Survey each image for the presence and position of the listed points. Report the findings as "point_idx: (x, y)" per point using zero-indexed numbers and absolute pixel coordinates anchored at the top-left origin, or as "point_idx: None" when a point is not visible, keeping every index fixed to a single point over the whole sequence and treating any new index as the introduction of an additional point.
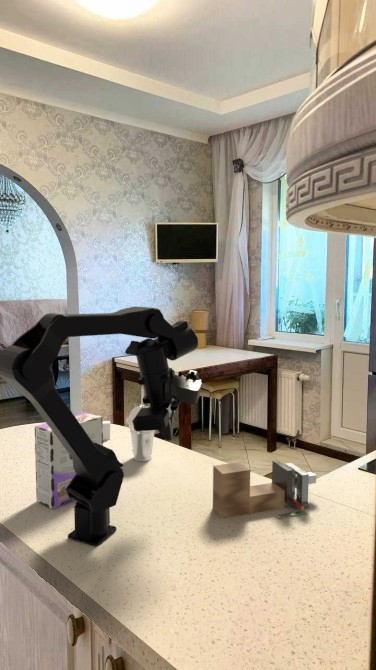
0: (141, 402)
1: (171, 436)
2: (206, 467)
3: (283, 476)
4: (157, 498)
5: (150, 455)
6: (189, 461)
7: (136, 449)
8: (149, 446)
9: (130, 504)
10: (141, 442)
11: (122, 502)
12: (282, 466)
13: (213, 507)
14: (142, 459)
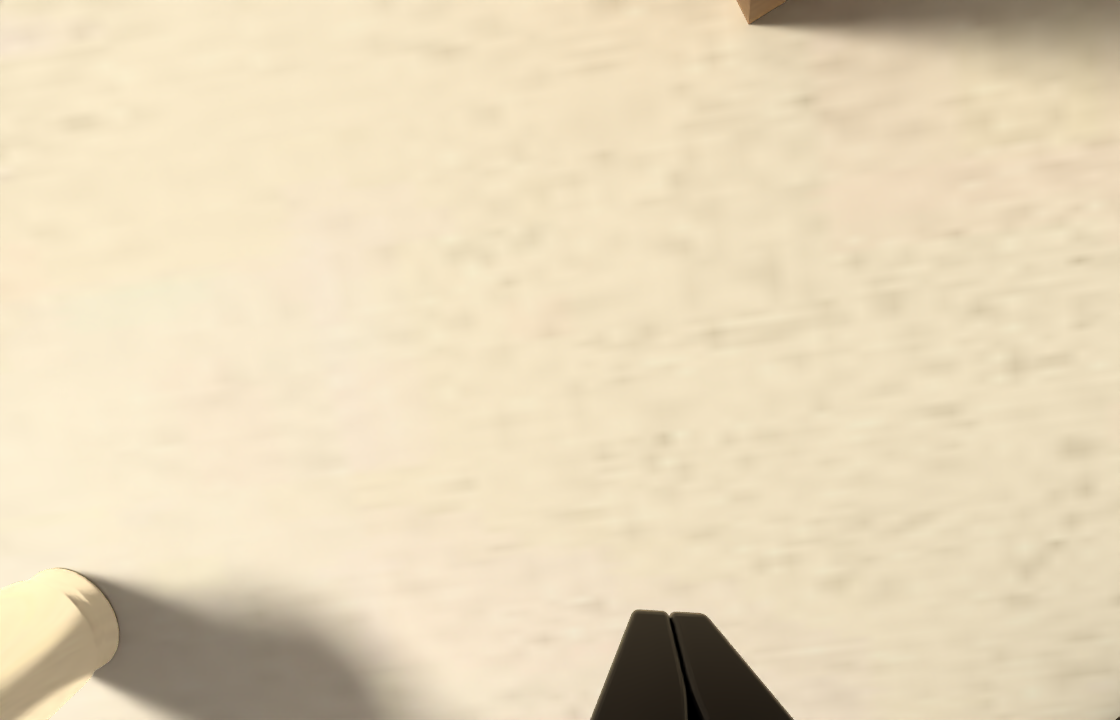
0: None
1: (719, 654)
2: (76, 182)
3: None
4: (638, 453)
5: (50, 584)
6: (21, 317)
7: (58, 700)
8: (4, 629)
9: (754, 610)
10: (6, 706)
11: None
12: None
13: (763, 12)
14: (104, 621)
